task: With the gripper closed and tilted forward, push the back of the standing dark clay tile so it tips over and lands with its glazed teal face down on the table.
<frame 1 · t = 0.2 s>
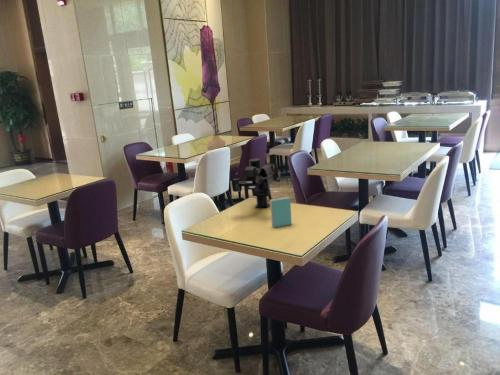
hand: (245, 189, 205), 16 cm above the table, tool horizontal, fingers open, 9 cm apart
tile: (281, 225, 201), on the table
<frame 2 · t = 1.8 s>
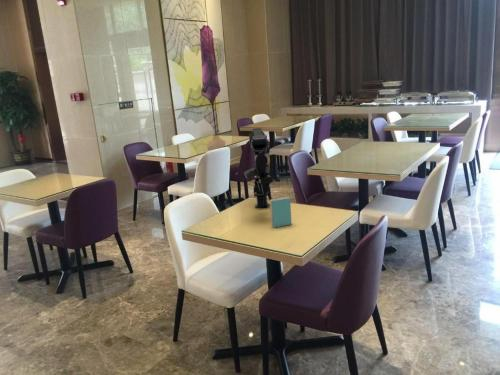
hand: (262, 193, 213), 12 cm above the table, tool pointing down, fingers open, 5 cm apart
nothing on the table moved.
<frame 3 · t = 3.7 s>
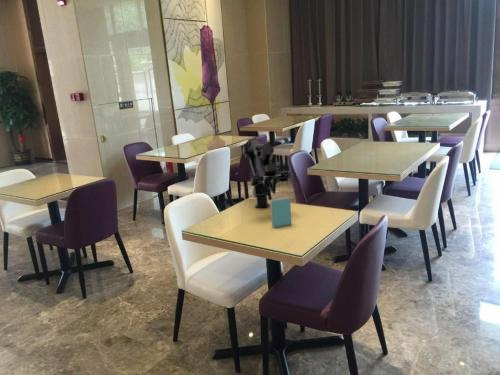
hand: (274, 193, 205), 14 cm above the table, tool tilted 45°, fingers closed
nothing on the table moved.
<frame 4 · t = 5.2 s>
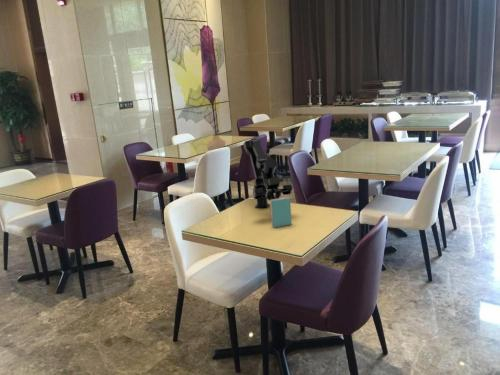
hand: (277, 206, 204), 8 cm above the table, tool tilted 45°, fingers closed
nothing on the table moved.
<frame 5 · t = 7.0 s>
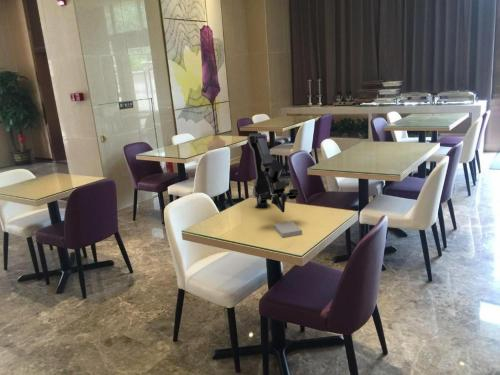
hand: (283, 211, 196), 8 cm above the table, tool tilted 45°, fingers closed
tile: (282, 224, 199), point 1 cm above the table, tilted 90°
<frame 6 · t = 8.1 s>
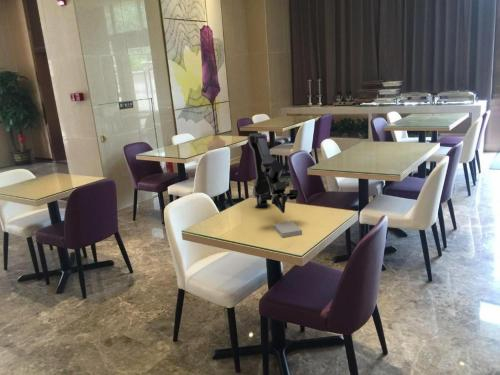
hand: (283, 212, 195), 8 cm above the table, tool tilted 45°, fingers closed
nothing on the table moved.
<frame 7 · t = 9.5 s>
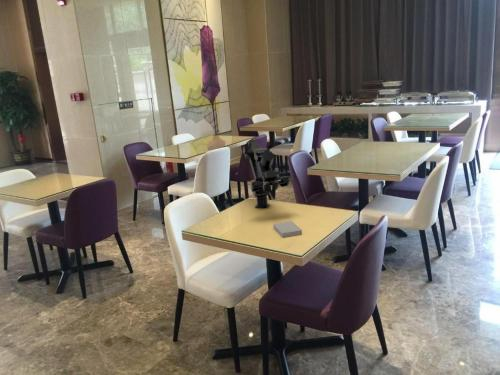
hand: (274, 199, 206), 11 cm above the table, tool tilted 45°, fingers closed
nothing on the table moved.
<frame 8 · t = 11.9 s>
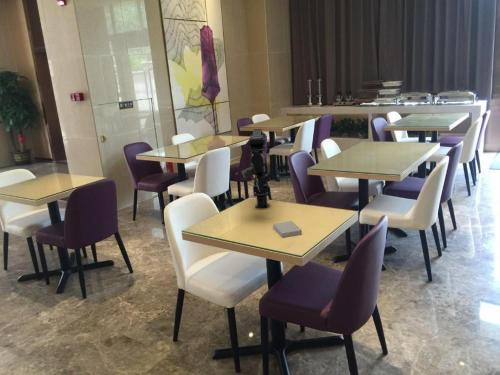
hand: (260, 191, 215), 12 cm above the table, tool pointing down, fingers closed
nothing on the table moved.
at the end: tile tilted 90°; tile moved 1.4 cm from its start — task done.
